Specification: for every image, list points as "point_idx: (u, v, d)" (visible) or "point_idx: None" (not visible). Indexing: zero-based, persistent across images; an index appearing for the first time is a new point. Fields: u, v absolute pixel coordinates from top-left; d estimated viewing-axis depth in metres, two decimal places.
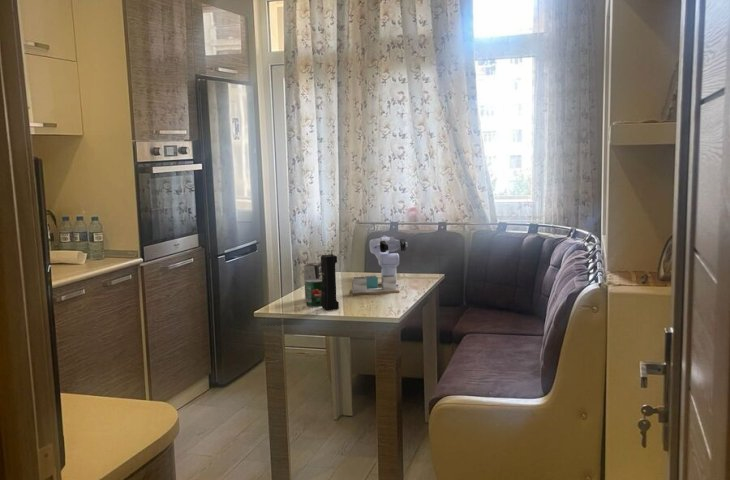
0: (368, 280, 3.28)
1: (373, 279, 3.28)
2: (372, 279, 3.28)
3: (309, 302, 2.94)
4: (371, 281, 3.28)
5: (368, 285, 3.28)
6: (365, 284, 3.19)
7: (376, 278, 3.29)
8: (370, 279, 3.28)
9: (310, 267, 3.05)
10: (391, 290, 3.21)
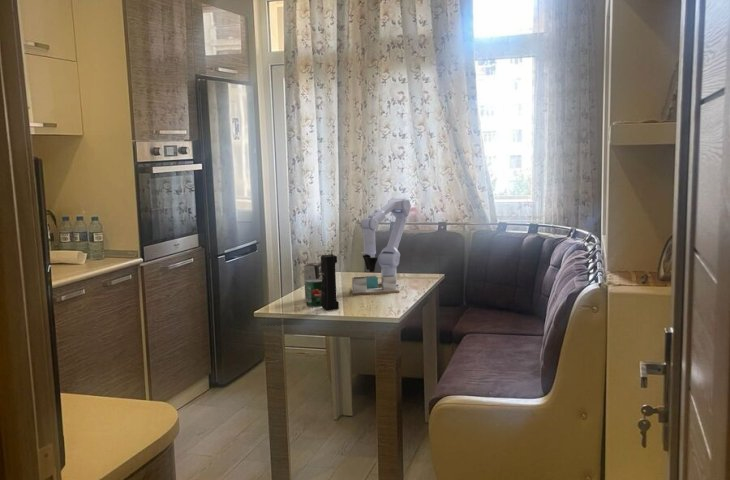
0: (368, 280, 3.28)
1: (373, 279, 3.28)
2: (372, 279, 3.28)
3: (309, 302, 2.94)
4: (371, 281, 3.28)
5: (368, 285, 3.28)
6: (365, 284, 3.19)
7: (376, 278, 3.29)
8: (370, 279, 3.28)
9: (310, 267, 3.05)
10: (391, 290, 3.21)
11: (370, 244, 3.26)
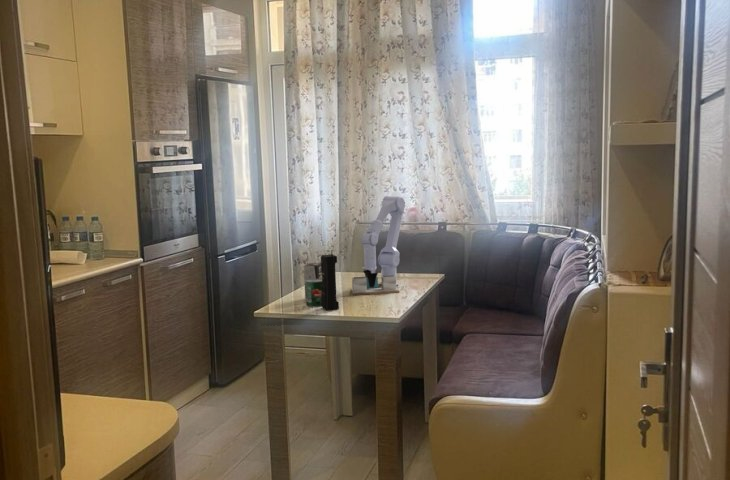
0: None
1: None
2: None
3: (309, 302, 2.94)
4: None
5: (368, 285, 3.28)
6: (365, 284, 3.19)
7: (376, 278, 3.29)
8: None
9: (310, 267, 3.05)
10: (391, 290, 3.21)
11: (371, 260, 3.27)
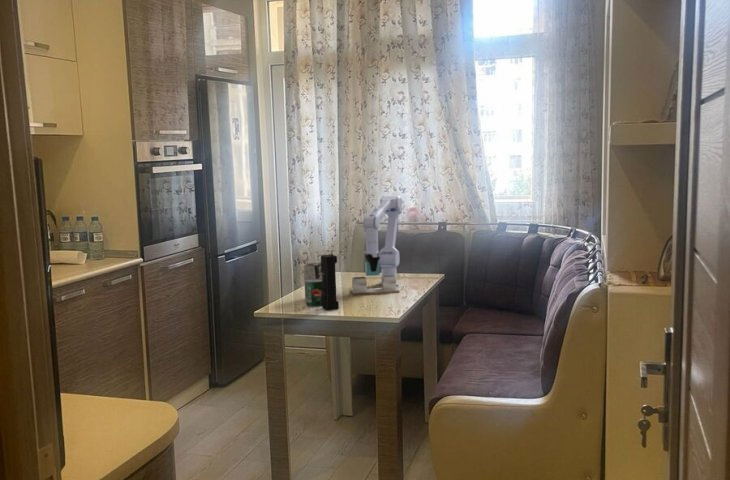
0: (369, 265, 3.21)
1: None
2: None
3: (309, 302, 2.94)
4: None
5: (369, 270, 3.21)
6: (365, 284, 3.19)
7: None
8: None
9: (310, 267, 3.05)
10: (391, 290, 3.21)
11: (373, 243, 3.19)
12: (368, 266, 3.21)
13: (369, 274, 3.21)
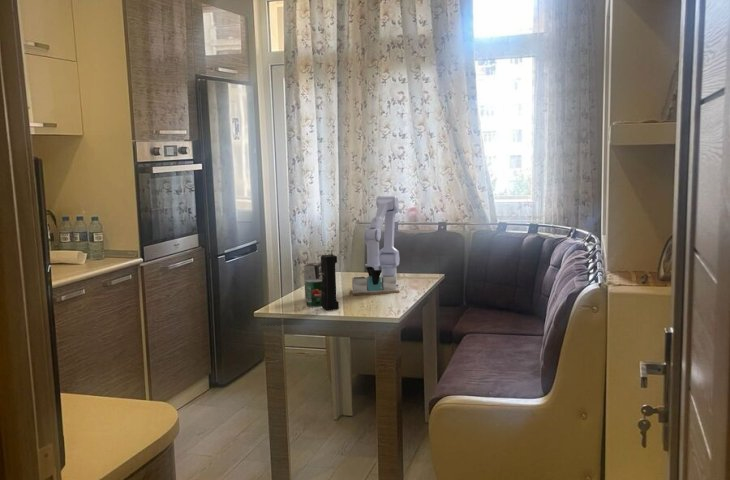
0: (371, 280, 3.20)
1: None
2: None
3: (309, 302, 2.94)
4: None
5: (371, 285, 3.20)
6: (365, 284, 3.19)
7: (379, 278, 3.20)
8: None
9: (310, 267, 3.05)
10: (391, 290, 3.21)
11: (374, 256, 3.18)
12: (370, 281, 3.20)
13: (371, 289, 3.20)
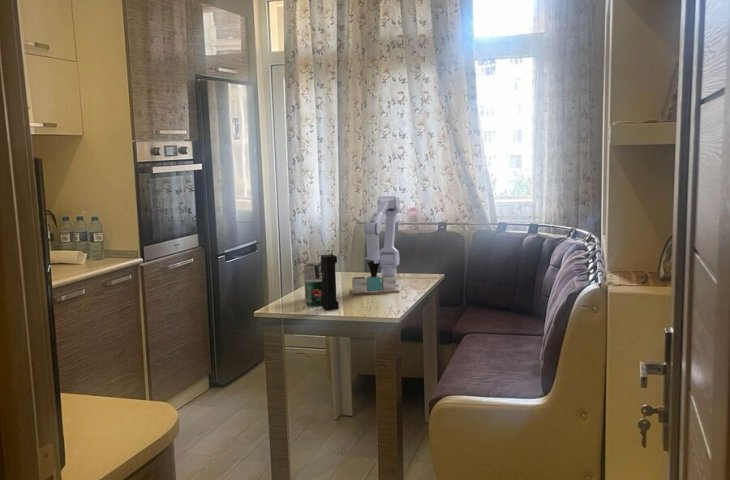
0: (371, 280, 3.20)
1: (376, 279, 3.20)
2: (375, 279, 3.20)
3: (309, 302, 2.94)
4: (374, 281, 3.20)
5: (371, 285, 3.20)
6: (365, 284, 3.19)
7: (379, 278, 3.20)
8: (373, 279, 3.20)
9: (310, 267, 3.05)
10: (391, 290, 3.21)
11: (374, 250, 3.18)
12: (370, 281, 3.20)
13: (371, 289, 3.20)
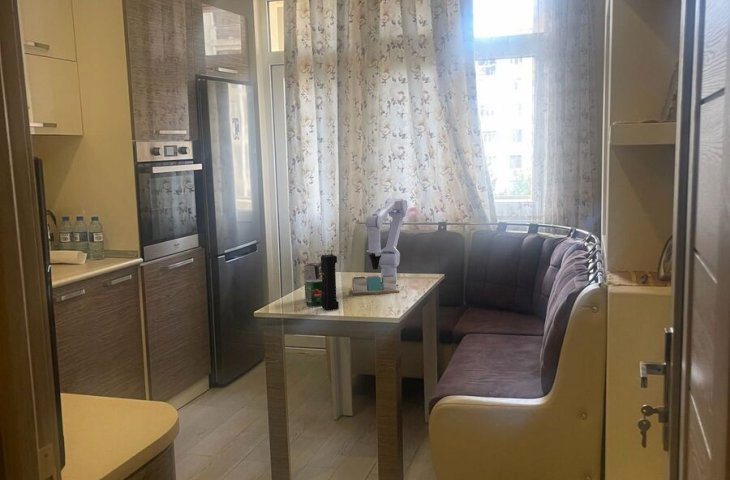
0: (371, 280, 3.20)
1: (376, 279, 3.20)
2: (375, 279, 3.20)
3: (309, 302, 2.94)
4: (374, 281, 3.20)
5: (371, 285, 3.20)
6: (365, 284, 3.19)
7: (379, 278, 3.20)
8: (373, 279, 3.20)
9: (310, 267, 3.05)
10: (391, 290, 3.21)
11: (375, 242, 3.24)
12: (370, 281, 3.20)
13: (371, 289, 3.20)
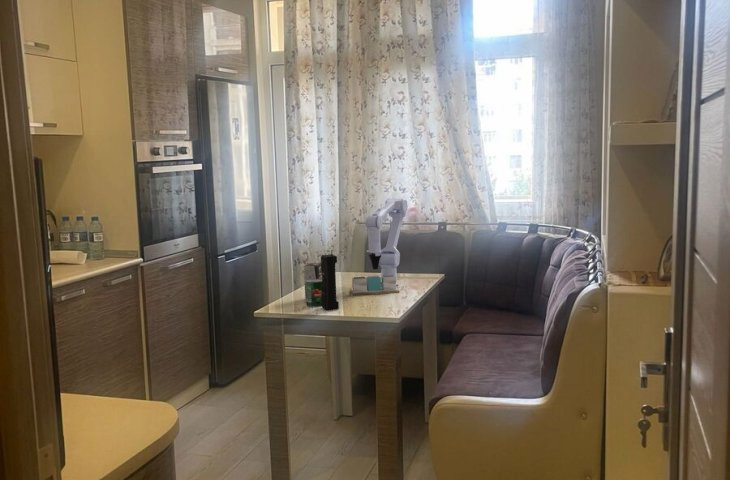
0: (371, 280, 3.20)
1: (376, 279, 3.20)
2: (375, 279, 3.20)
3: (309, 302, 2.94)
4: (374, 281, 3.20)
5: (371, 285, 3.20)
6: (365, 284, 3.19)
7: (379, 278, 3.20)
8: (373, 279, 3.20)
9: (310, 267, 3.05)
10: (391, 290, 3.21)
11: (375, 242, 3.24)
12: (370, 281, 3.20)
13: (371, 289, 3.20)
